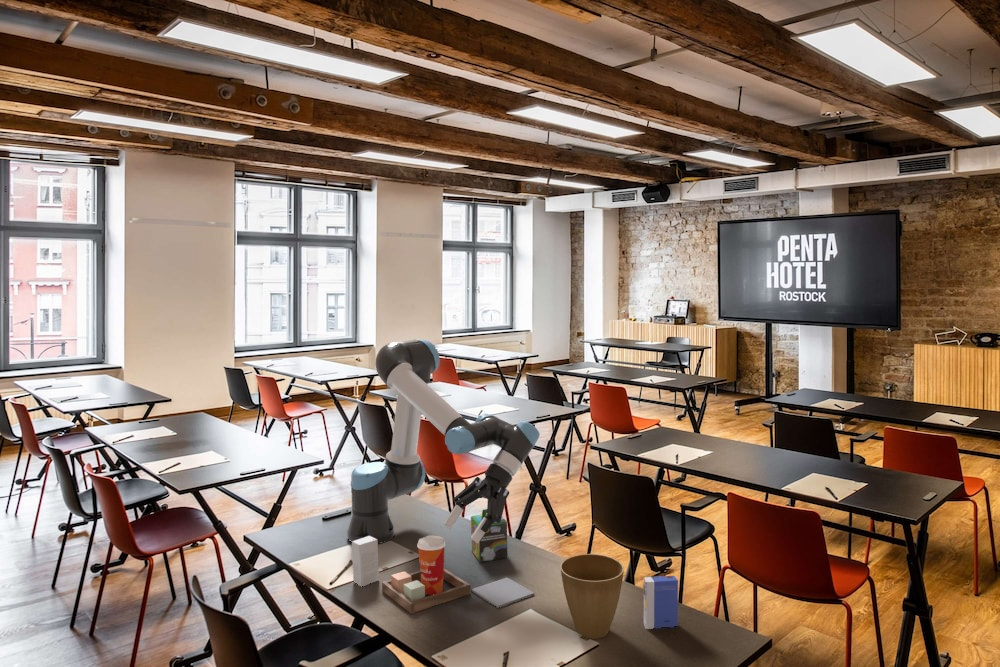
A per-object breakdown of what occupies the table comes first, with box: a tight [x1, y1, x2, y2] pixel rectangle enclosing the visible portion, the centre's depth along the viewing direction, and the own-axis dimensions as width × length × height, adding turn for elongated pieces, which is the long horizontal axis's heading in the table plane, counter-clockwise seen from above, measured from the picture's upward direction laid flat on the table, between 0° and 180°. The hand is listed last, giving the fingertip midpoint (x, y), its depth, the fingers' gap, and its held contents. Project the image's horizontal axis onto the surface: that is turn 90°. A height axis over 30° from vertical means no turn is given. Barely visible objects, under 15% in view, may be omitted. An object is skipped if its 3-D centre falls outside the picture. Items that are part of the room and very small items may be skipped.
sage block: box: [404, 580, 426, 602], centre depth 180 cm, size 4×4×5 cm
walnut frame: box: [381, 567, 471, 615], centre depth 186 cm, size 16×18×2 cm
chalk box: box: [470, 508, 509, 563], centre depth 210 cm, size 9×9×15 cm
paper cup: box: [416, 535, 447, 596], centre depth 187 cm, size 8×8×14 cm
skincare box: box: [351, 536, 380, 588], centre depth 193 cm, size 6×4×12 cm
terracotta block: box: [390, 570, 412, 595], centre depth 186 cm, size 4×4×5 cm
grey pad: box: [470, 577, 535, 609], centre depth 185 cm, size 12×12×1 cm
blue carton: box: [642, 574, 679, 630], centre depth 167 cm, size 8×3×12 cm, turn 96°
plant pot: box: [559, 553, 625, 640], centre depth 164 cm, size 15×15×16 cm
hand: (460, 533), depth 191 cm, fingers open, 13 cm apart
